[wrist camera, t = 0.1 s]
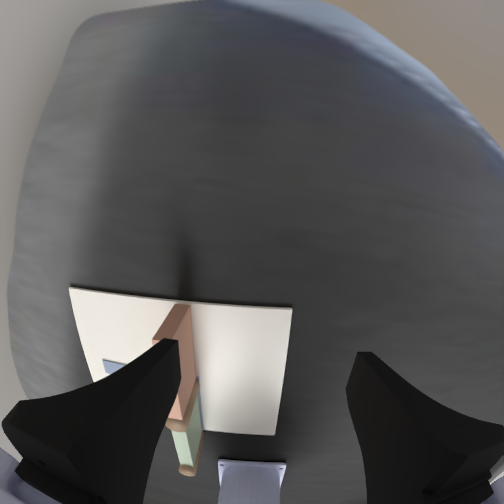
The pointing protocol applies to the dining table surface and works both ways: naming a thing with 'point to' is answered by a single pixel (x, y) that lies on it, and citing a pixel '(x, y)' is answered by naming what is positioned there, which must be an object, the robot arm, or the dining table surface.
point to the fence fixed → (190, 443)
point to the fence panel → (181, 364)
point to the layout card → (197, 352)
